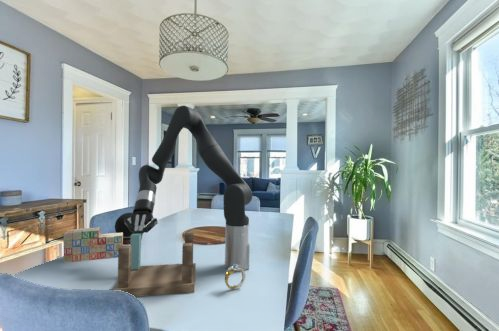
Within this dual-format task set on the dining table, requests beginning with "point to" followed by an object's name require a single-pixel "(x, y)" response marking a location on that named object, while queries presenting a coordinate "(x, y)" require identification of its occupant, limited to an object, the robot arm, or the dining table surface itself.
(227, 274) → the bracelet
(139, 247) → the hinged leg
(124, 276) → the wooden rack
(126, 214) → the black ball on pedestal
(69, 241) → the stack of blocks
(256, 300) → the dining table surface
